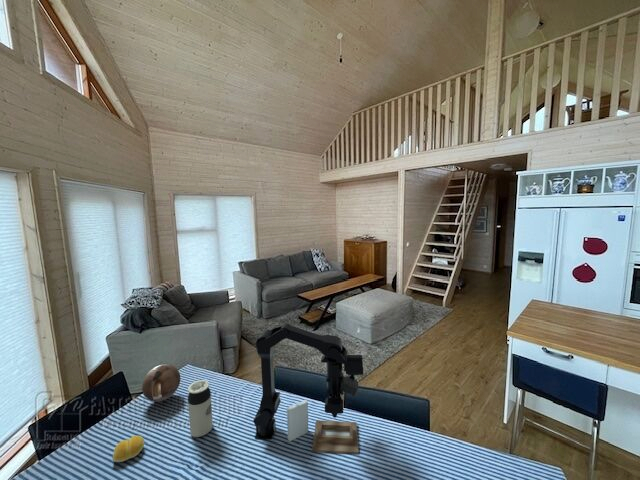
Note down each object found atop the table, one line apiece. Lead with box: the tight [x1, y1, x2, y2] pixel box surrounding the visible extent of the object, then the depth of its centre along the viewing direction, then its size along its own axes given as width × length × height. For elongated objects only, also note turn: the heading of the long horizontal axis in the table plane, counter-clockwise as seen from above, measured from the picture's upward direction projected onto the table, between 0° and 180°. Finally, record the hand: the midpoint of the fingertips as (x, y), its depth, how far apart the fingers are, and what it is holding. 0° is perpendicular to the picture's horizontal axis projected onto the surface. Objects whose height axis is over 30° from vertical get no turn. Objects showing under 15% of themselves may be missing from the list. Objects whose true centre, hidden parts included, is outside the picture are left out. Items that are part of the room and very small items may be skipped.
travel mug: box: [187, 379, 214, 438], centre depth 101 cm, size 8×8×18 cm
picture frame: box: [311, 419, 359, 455], centre depth 97 cm, size 16×13×3 cm
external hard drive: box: [286, 399, 309, 442], centre depth 98 cm, size 2×8×12 cm, turn 121°
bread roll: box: [112, 435, 145, 463], centre depth 92 cm, size 8×9×4 cm
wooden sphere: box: [141, 363, 181, 402], centre depth 120 cm, size 15×15×15 cm
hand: (335, 412), depth 96 cm, fingers open, 4 cm apart
